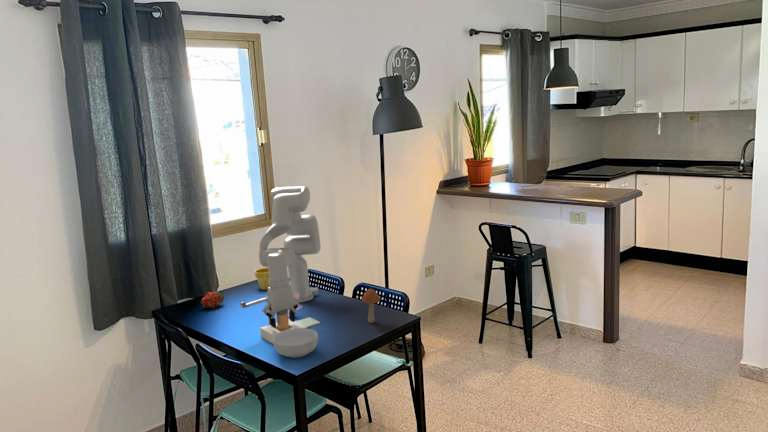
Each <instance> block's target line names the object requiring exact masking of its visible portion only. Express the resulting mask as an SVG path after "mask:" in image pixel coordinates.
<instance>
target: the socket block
mask: <svg viewBox="0 0 768 432" xmlns="http://www.w3.org/2000/svg"><path fill="white" fill-rule="evenodd" d="M267 312H268V313H269V312H270V310H267ZM267 317H268V316H267ZM288 320H289V329H286V330H290V329H297V328H305V329H308V328H307V327H306V326H304V325H302V324H300V323H298V322H296V321H297V320H295V322H292V321H290V318H288ZM259 330H260V337H261V338H263V340H265V341H267V342H269V343H270V344H273V338H274V336H275V335H277V334H278V333H280V332H283V331H286V330H283V331H279V330H278V325H277V322H276V328H274V327H272V326H271V325H270V318H269V317H268V325H264V326H262V327H260V328H259ZM273 345H274V344H273Z"/></svg>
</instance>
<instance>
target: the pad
mask: <svg viewBox="0 0 768 432" xmlns="http://www.w3.org/2000/svg"><path fill="white" fill-rule="evenodd" d="M295 321H296V322H298V323H300V324H302V325H304V326H306V327H307V329H309V328H310V327H311V328H312V327H313V326H316V325H320V324H321V321H319V320H316V319H314V318H312V317H310V316H309V317H305V318H303V319H299V320H295Z"/></svg>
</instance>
